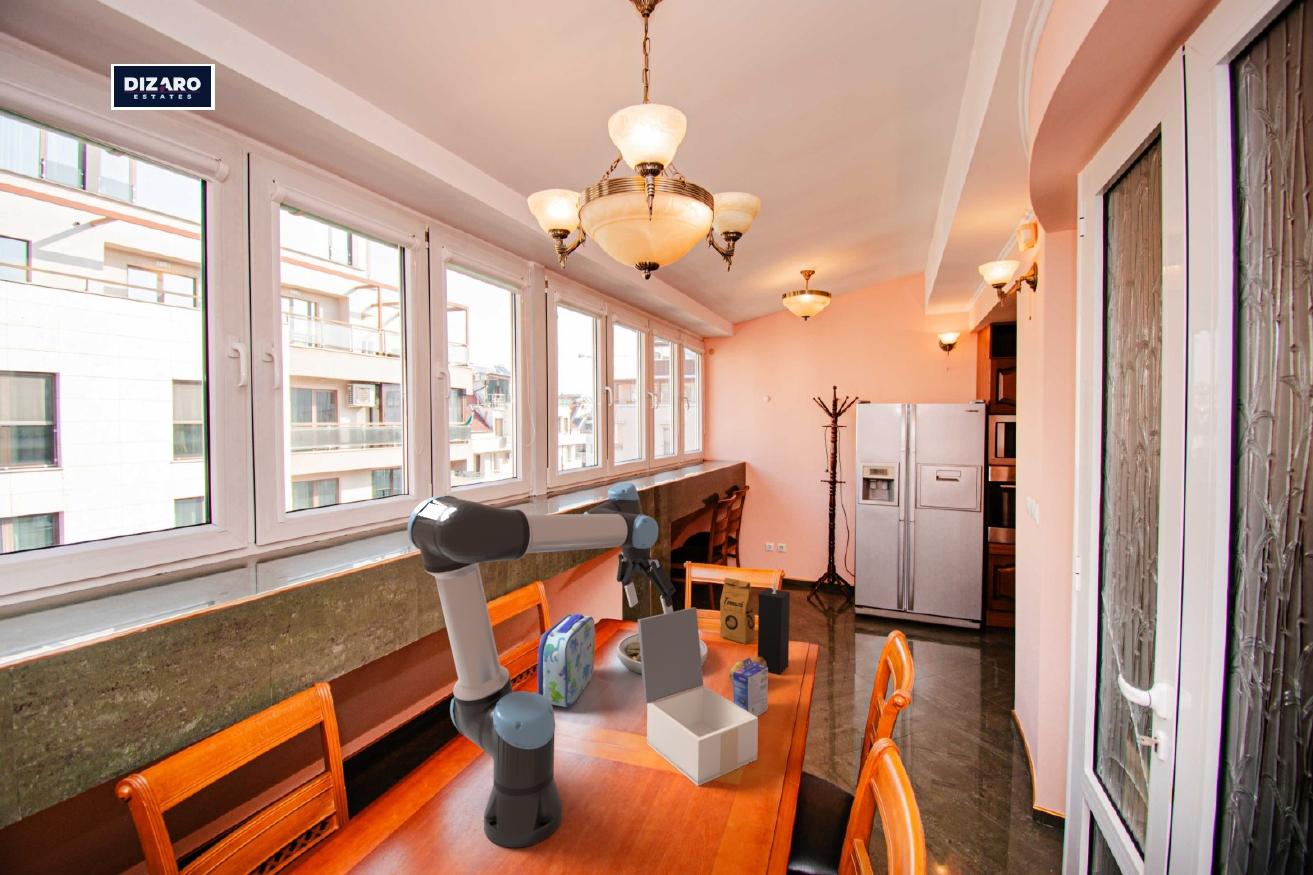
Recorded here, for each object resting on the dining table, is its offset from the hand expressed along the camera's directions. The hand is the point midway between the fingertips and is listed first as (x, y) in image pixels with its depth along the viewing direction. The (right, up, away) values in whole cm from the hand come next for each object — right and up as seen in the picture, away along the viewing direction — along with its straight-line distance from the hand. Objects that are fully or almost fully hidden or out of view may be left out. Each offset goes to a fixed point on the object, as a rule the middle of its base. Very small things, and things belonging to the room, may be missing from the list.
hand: (651, 610), depth 157 cm
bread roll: (+28, -28, +17) cm, 44 cm away
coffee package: (+31, -27, +54) cm, 68 cm away
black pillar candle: (+39, -28, +29) cm, 56 cm away
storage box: (+12, -28, -19) cm, 36 cm away
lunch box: (-25, -28, +11) cm, 39 cm away
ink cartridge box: (+27, -28, 0) cm, 39 cm away
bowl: (+3, -28, +34) cm, 44 cm away
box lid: (+6, -8, -9) cm, 14 cm away
